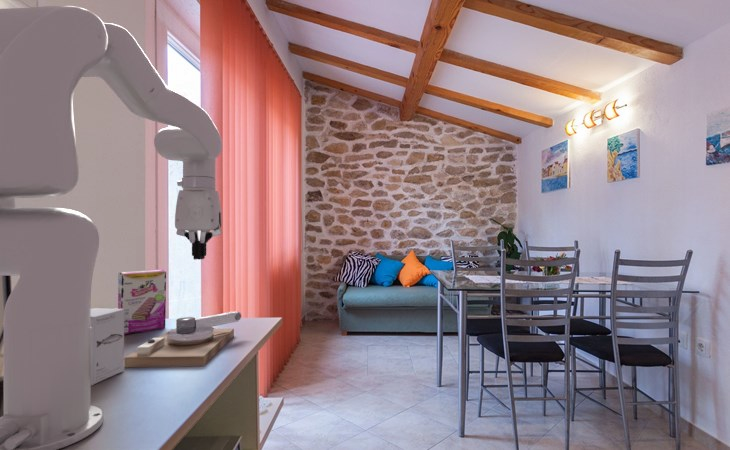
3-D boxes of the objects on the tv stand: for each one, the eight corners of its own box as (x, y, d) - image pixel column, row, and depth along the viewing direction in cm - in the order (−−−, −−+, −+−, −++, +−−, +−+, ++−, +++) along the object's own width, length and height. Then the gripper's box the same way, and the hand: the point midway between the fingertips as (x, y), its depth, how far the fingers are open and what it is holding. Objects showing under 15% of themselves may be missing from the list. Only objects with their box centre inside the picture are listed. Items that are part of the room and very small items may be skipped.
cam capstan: (178, 348, 86) (178, 325, 86) (160, 339, 93) (160, 318, 93) (251, 332, 100) (251, 312, 100) (230, 325, 106) (230, 306, 106)
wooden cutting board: (203, 365, 82) (203, 345, 82) (124, 367, 81) (124, 346, 81) (233, 336, 104) (233, 319, 104) (171, 336, 103) (171, 320, 103)
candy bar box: (121, 336, 104) (121, 273, 104) (117, 332, 108) (117, 272, 108) (166, 328, 112) (166, 270, 112) (161, 325, 115) (161, 269, 115)
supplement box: (93, 386, 72) (93, 316, 72) (59, 383, 73) (59, 314, 73) (125, 371, 79) (125, 308, 79) (94, 368, 80) (94, 306, 80)
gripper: (161, 183, 94) (161, 260, 94) (225, 184, 95) (224, 260, 95) (175, 186, 102) (175, 258, 102) (234, 187, 103) (233, 257, 103)
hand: (199, 258), depth 98 cm, fingers closed
